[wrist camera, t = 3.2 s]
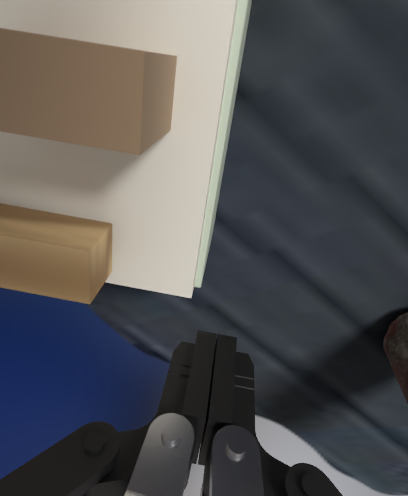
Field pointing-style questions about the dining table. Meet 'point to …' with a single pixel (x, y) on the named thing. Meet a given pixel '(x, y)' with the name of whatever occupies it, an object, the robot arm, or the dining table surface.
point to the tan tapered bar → (53, 253)
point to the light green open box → (224, 130)
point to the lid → (117, 122)
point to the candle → (398, 350)
